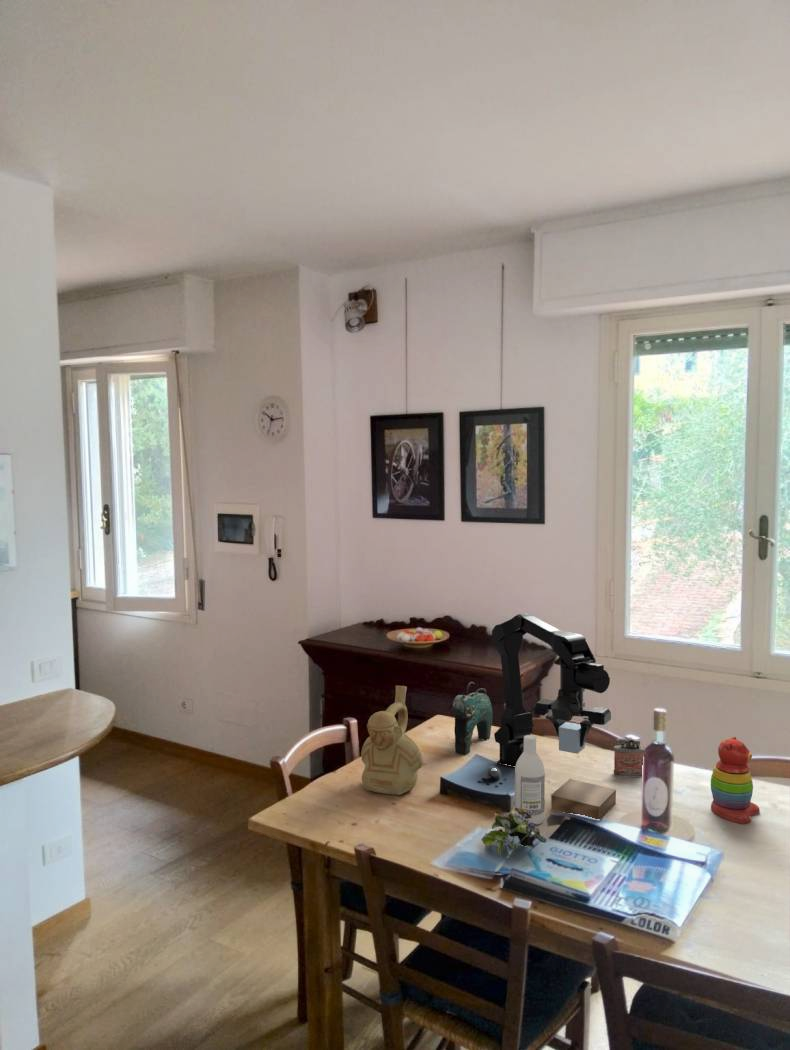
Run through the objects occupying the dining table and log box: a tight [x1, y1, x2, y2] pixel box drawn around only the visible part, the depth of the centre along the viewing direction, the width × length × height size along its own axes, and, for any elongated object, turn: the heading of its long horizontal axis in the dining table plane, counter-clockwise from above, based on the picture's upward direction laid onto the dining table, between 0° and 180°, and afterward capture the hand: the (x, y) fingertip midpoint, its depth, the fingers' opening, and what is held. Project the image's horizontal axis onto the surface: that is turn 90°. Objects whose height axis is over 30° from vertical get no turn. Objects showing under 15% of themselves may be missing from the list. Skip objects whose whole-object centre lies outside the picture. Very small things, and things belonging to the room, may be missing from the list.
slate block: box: [558, 721, 586, 755], centre depth 198 cm, size 5×5×6 cm
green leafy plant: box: [481, 807, 547, 858], centre depth 167 cm, size 11×11×12 cm
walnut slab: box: [550, 778, 617, 820], centre depth 190 cm, size 12×12×4 cm
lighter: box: [613, 737, 646, 778], centre depth 210 cm, size 8×3×10 cm, turn 84°
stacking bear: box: [710, 736, 761, 825], centre depth 186 cm, size 11×10×18 cm
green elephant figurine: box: [451, 681, 493, 756], centre depth 232 cm, size 20×6×20 cm, turn 147°
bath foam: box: [514, 734, 546, 826], centre depth 183 cm, size 7×7×20 cm
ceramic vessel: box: [360, 685, 424, 796], centre depth 202 cm, size 17×20×25 cm
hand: (571, 744), depth 198 cm, fingers closed on slate block, 5 cm apart
